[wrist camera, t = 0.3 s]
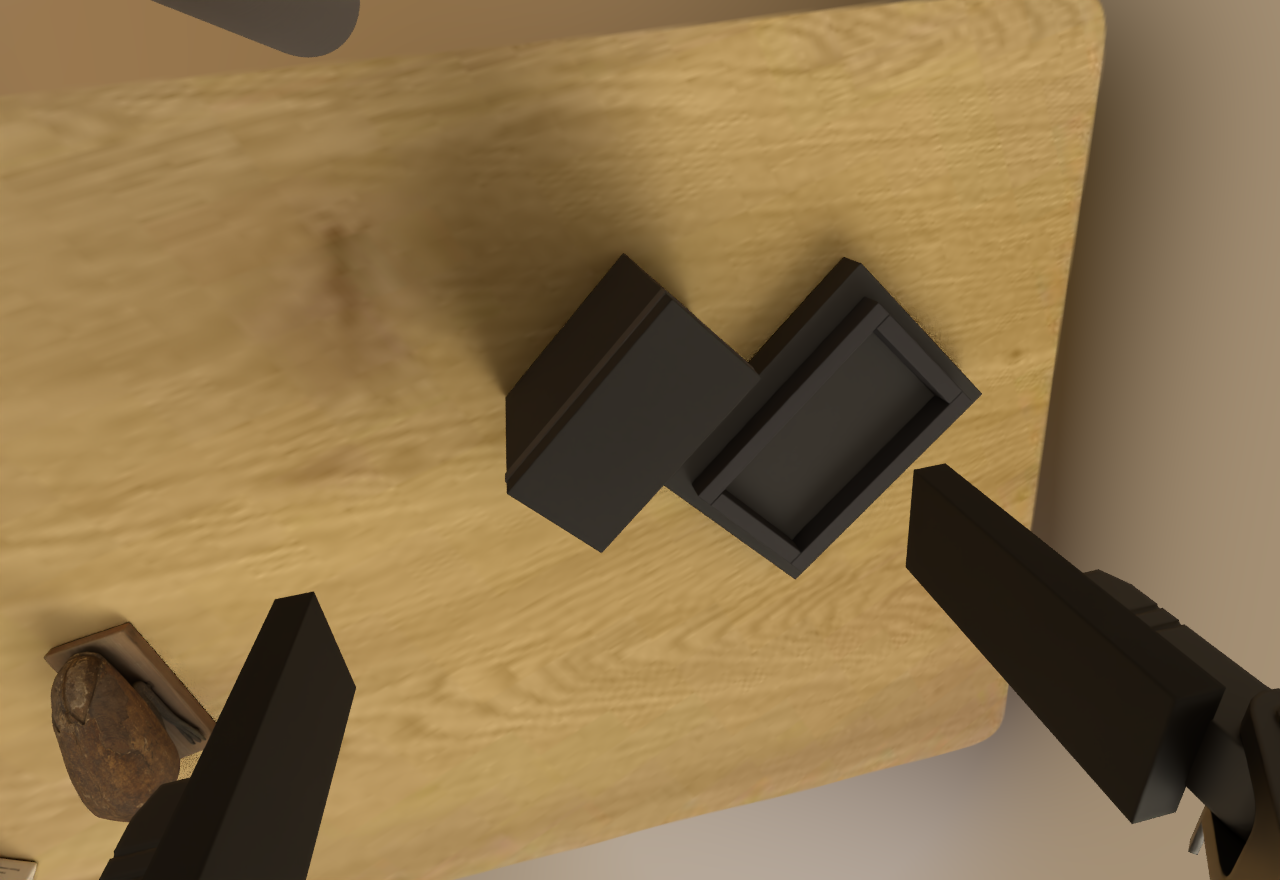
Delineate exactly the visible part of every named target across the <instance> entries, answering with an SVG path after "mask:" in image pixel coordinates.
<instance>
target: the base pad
mask: <svg viewBox="0 0 1280 880" xmlns="http://www.w3.org/2000/svg"><path fill="white" fill-rule="evenodd" d="M749 364H750V365H751V366H752V367H753V368H754V370H755V371H756V372H757V373H758V374H759V375H760V376H761V379H760V380H759V381H758V382H757V384H756V385H755V386H754V387H753V388H752V389H751V390H750V391H749V392H748V393H747V395H746V396H745V397H744V398H743V399H742V400H741V401H740V402H739V403H738V404H737V405H736V407H735V408H734V409H733V410H732V411H731V412H730V413H729V414H728V415H727V416H726V418H725V419H724V420H723V421H722V422H721V423H720V424H719V425H718V426H717V427H716V428H715V430H714V431H713V432H712V433H711V434H710V435H709V436H708V437H707V438H706V439H705V441H704V442H703V443H702V444H701V445H700V446H699V447H698V448H697V449H696V450H695V451H694V453H693V454H692V455H691V456H690V457H689V458H688V459H687V460H686V461H685V462H684V464H683V465H682V466H681V467H680V468H679V469H678V470H677V471H676V472H675V473H674V474H673V476H672V477H671V478H670V479H669V480H668V481H667V482H666V483H665V484H664V486H666V487H667V488H668V489H670V490H671V491H673V492H674V493H675V494H677V495H678V496H679V497H681V498H682V499H684V500H685V501H686V502H688V503H689V504H691V505H692V506H693V507H695V508H696V509H698V510H699V511H700V512H702V513H703V514H705V515H706V516H707V517H709V518H710V519H712V520H713V521H714V522H716V523H717V524H719V525H720V526H721V527H723V528H724V529H726V530H727V531H728V532H730V533H731V534H733V535H734V536H735V537H737V538H738V539H739V540H741V541H742V542H744V543H745V544H746V545H748V546H749V547H751V548H752V549H753V550H755V551H756V552H758V553H759V554H760V555H762V556H763V557H765V558H766V559H767V560H769V561H770V562H772V563H773V564H774V565H776V566H777V567H779V568H780V569H781V570H783V571H784V572H786V573H787V574H788V575H790V576H791V577H792V578H794V579H796V578H797V577H798V576H799V575H800V574H801V573H802V572H803V571H804V570H805V569H806V568H807V567H809V566H810V565H811V564H812V563H813V562H814V561H815V560H816V559H817V558H818V557H819V556H820V555H821V554H822V553H823V552H824V551H825V550H826V549H827V548H828V547H829V546H830V545H831V544H832V543H833V542H834V541H835V540H836V539H837V538H838V537H839V536H840V535H841V534H842V533H843V532H844V531H845V530H846V529H847V528H848V527H849V526H850V525H851V524H852V523H853V522H854V521H855V520H856V519H857V518H858V517H859V516H860V515H861V514H862V513H863V512H864V511H865V510H866V509H867V508H868V507H869V506H870V505H871V504H872V503H873V502H874V501H875V500H876V499H877V498H878V497H879V496H880V495H881V494H882V493H883V492H884V491H885V490H886V489H887V488H888V487H889V486H890V485H891V484H892V483H893V482H894V481H895V480H896V479H897V478H898V477H899V476H900V475H901V474H902V473H903V472H904V471H905V470H906V469H907V468H908V467H909V466H910V465H911V464H912V463H913V462H914V461H915V460H916V459H917V458H918V457H919V456H920V455H921V454H922V453H923V452H924V451H925V450H926V449H927V448H928V447H929V446H930V445H931V444H932V443H933V442H934V441H935V440H936V439H937V438H938V437H939V436H940V435H941V434H942V433H943V432H944V431H945V430H946V429H947V428H948V427H949V426H950V425H951V424H952V423H953V422H955V421H956V420H957V419H958V418H959V417H960V416H961V415H962V414H963V413H964V412H965V411H966V410H967V409H968V408H969V407H970V406H971V405H972V404H973V403H974V402H975V401H976V400H977V399H978V398H979V397H980V396H981V395H982V393H981V392H980V391H979V390H978V389H977V388H976V387H975V386H974V385H973V384H972V382H971V381H970V380H969V379H968V378H967V377H966V376H965V375H964V374H963V373H962V372H961V371H960V369H959V368H958V367H957V366H956V365H955V364H954V363H953V362H952V361H951V360H950V359H949V358H948V356H947V355H946V354H945V353H944V352H943V351H942V350H941V349H940V348H939V347H938V346H937V345H936V344H935V342H934V341H933V340H932V339H931V338H930V337H929V336H928V335H927V334H926V333H925V332H924V331H923V329H922V328H921V327H920V326H919V325H918V324H917V323H916V322H915V321H914V320H913V319H912V318H911V317H910V315H909V314H908V313H907V312H906V311H905V310H904V309H903V308H902V307H901V306H900V305H899V304H898V302H897V301H896V300H895V299H894V298H893V297H892V296H891V295H890V294H889V293H888V292H887V291H886V289H885V288H884V287H883V286H882V285H881V284H880V283H879V282H878V281H877V280H876V279H875V278H874V277H873V275H872V274H871V273H870V272H869V271H868V270H867V269H866V268H865V267H864V266H863V265H862V264H861V263H859V262H856V261H853V260H850V259H847V258H845V257H844V258H843V259H842V260H841V261H840V262H839V263H838V264H837V265H836V266H835V267H834V268H833V270H832V271H831V272H830V273H829V274H828V275H827V276H826V277H825V278H824V280H823V281H822V282H821V283H820V284H819V285H818V286H817V287H816V288H815V290H814V291H813V292H812V293H811V294H810V295H809V296H808V297H807V298H806V300H805V301H804V302H803V303H802V304H801V305H800V306H799V307H798V308H797V309H796V311H795V312H794V313H793V314H792V315H791V316H790V317H789V318H788V319H787V321H786V322H785V323H784V324H783V325H782V326H781V327H780V328H779V329H778V331H777V332H776V333H775V334H774V335H773V336H772V337H771V338H770V339H769V341H768V342H767V343H766V344H765V345H764V346H763V347H762V348H761V349H760V350H759V352H758V353H757V354H756V355H755V356H754V357H753V358H752V359H751V360H750V362H749Z"/></svg>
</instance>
